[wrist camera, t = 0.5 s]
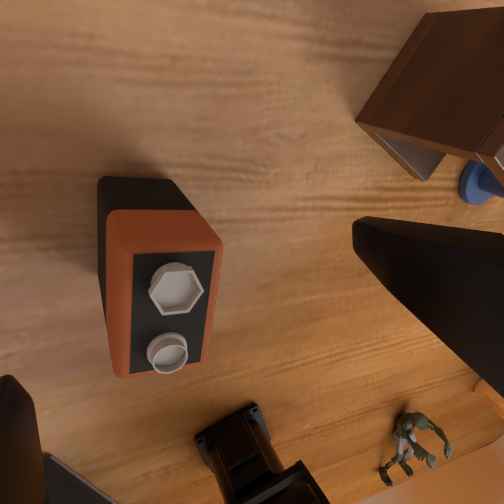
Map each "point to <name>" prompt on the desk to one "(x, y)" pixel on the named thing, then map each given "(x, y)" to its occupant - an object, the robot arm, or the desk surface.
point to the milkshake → (490, 397)
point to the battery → (155, 275)
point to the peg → (479, 184)
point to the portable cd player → (69, 486)
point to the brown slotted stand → (444, 94)
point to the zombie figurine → (412, 444)
